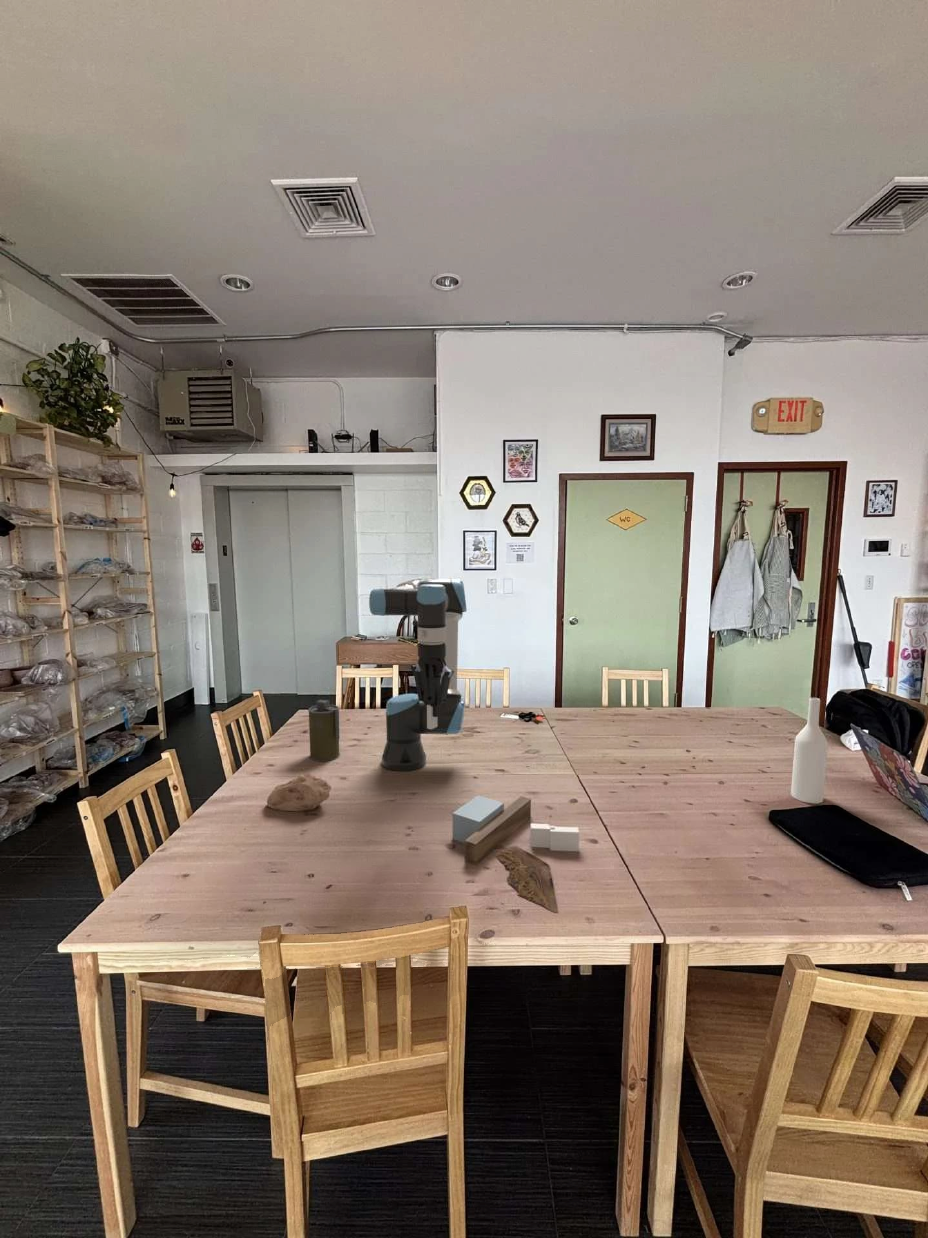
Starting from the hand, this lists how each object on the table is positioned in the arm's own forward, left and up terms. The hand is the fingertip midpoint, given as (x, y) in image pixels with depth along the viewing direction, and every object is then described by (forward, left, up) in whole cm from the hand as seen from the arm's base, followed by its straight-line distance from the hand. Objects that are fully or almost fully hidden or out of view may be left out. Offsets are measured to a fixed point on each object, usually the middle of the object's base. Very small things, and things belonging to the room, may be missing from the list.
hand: (432, 727), depth 148 cm
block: (+17, -2, -25) cm, 30 cm away
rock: (-33, -19, -25) cm, 46 cm away
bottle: (+86, +69, -25) cm, 113 cm away
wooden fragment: (+36, -12, -25) cm, 46 cm away
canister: (-57, +12, -25) cm, 63 cm away
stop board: (+22, -1, -24) cm, 33 cm away
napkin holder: (+35, +3, -25) cm, 43 cm away
